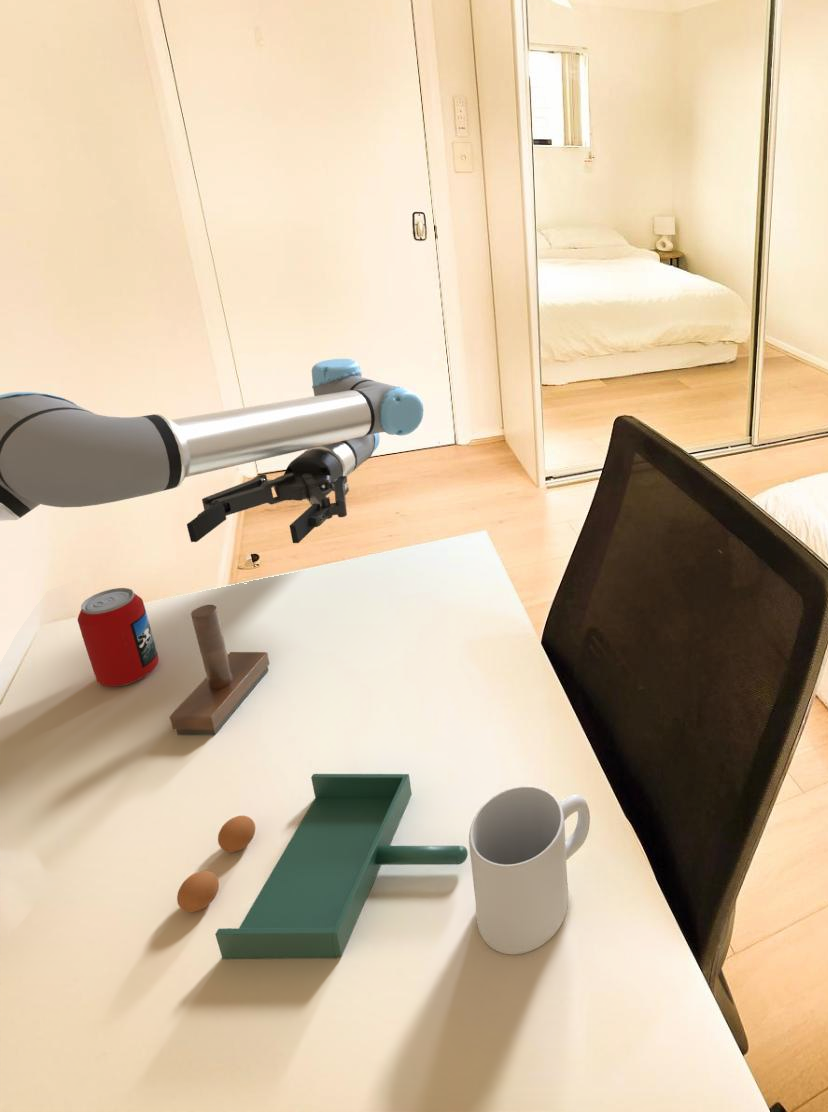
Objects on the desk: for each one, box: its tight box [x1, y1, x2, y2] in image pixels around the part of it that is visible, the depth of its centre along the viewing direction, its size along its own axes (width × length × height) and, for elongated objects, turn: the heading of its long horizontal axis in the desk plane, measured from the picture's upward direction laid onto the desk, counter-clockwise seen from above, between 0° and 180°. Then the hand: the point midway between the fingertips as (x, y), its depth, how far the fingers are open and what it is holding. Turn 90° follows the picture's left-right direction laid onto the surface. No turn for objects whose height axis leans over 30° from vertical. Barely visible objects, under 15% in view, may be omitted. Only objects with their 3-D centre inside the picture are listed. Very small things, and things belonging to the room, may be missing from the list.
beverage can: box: [77, 587, 160, 687], centre depth 92 cm, size 7×7×12 cm
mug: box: [468, 785, 591, 955], centre depth 65 cm, size 12×8×11 cm
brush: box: [169, 604, 270, 736], centre depth 88 cm, size 5×12×14 cm, turn 1°
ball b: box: [217, 815, 256, 853], centre depth 71 cm, size 3×3×3 cm
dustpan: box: [214, 773, 469, 960], centre depth 69 cm, size 19×17×3 cm
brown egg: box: [176, 870, 220, 913], centre depth 65 cm, size 3×3×3 cm
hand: (242, 534), depth 93 cm, fingers open, 13 cm apart
